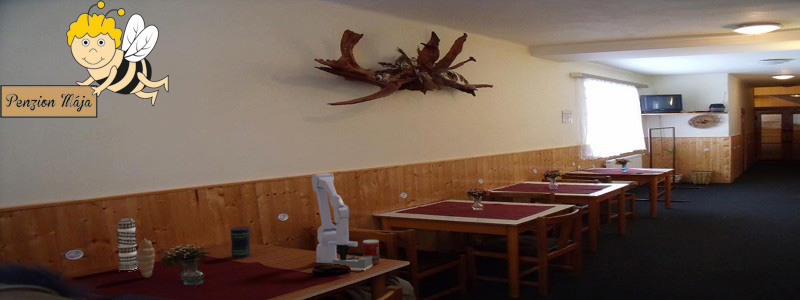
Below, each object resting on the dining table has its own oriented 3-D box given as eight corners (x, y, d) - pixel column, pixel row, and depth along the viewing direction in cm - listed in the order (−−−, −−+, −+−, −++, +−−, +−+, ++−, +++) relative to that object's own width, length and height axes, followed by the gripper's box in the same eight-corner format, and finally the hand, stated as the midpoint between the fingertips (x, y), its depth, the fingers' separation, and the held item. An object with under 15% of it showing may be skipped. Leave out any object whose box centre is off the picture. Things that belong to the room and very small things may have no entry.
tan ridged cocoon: (138, 276, 275) (136, 237, 274) (156, 274, 277) (154, 236, 277) (136, 280, 266) (135, 240, 266) (155, 278, 269) (154, 239, 269)
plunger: (347, 266, 276) (347, 258, 276) (353, 263, 283) (352, 255, 283) (356, 266, 275) (356, 259, 275) (361, 263, 281) (361, 256, 281)
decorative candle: (113, 271, 288) (111, 219, 288) (130, 267, 297) (128, 217, 296) (126, 272, 284) (124, 220, 284) (142, 268, 292) (140, 217, 292)
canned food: (372, 265, 282) (372, 242, 282) (360, 264, 287) (359, 241, 287) (382, 262, 288) (382, 240, 288) (370, 261, 293) (369, 239, 293)
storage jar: (230, 256, 317) (229, 228, 317) (248, 254, 321) (247, 226, 321) (233, 259, 308) (232, 230, 308) (252, 257, 312) (251, 228, 312)
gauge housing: (331, 269, 278) (330, 258, 278) (339, 264, 288) (339, 254, 287) (364, 270, 273) (364, 259, 273) (372, 265, 282) (372, 255, 282)
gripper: (324, 233, 280) (325, 262, 280) (353, 234, 275) (354, 263, 275) (331, 231, 286) (332, 259, 287) (359, 231, 282) (360, 260, 282)
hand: (343, 261), depth 282 cm, fingers closed
